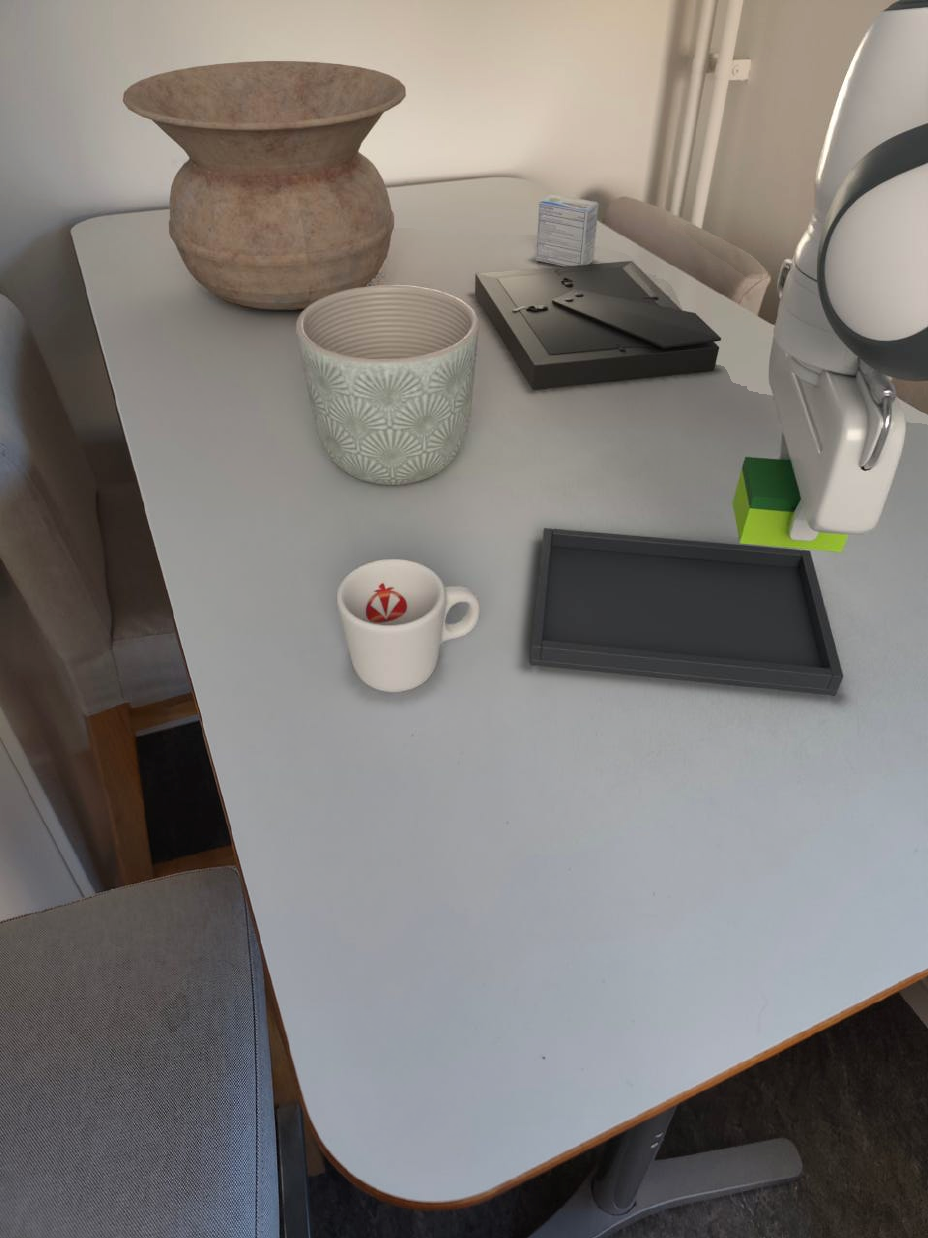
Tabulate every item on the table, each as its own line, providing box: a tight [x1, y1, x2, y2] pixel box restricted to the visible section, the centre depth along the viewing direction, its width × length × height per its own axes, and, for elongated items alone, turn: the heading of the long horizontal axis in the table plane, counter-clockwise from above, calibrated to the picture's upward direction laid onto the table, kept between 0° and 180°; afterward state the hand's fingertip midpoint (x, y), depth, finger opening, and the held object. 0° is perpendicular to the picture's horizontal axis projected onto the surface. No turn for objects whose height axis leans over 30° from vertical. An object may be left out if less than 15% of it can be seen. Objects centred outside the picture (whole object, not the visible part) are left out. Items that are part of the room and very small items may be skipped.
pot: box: [122, 60, 407, 311], centre depth 115 cm, size 34×34×25 cm
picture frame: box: [474, 260, 722, 390], centre depth 113 cm, size 23×4×28 cm
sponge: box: [732, 456, 849, 553], centre depth 61 cm, size 7×5×4 cm
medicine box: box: [535, 194, 600, 267], centre depth 129 cm, size 8×4×9 cm, turn 60°
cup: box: [336, 558, 481, 693], centre depth 66 cm, size 11×8×8 cm
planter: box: [295, 284, 480, 486], centre depth 85 cm, size 17×17×15 cm
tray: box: [529, 527, 844, 696], centre depth 73 cm, size 24×16×2 cm, turn 83°
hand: (792, 507), depth 61 cm, fingers closed on sponge, 5 cm apart
